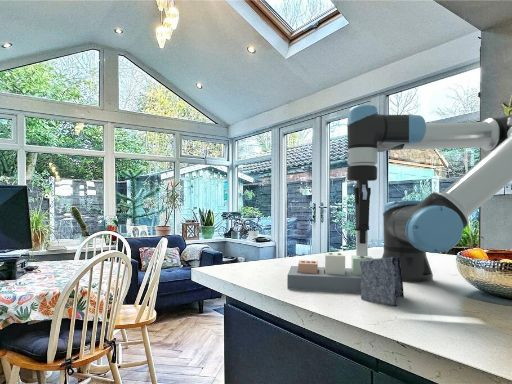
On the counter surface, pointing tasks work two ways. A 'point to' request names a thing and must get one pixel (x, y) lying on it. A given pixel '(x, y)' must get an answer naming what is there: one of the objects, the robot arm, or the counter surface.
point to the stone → (381, 280)
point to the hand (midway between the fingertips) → (361, 255)
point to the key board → (324, 281)
